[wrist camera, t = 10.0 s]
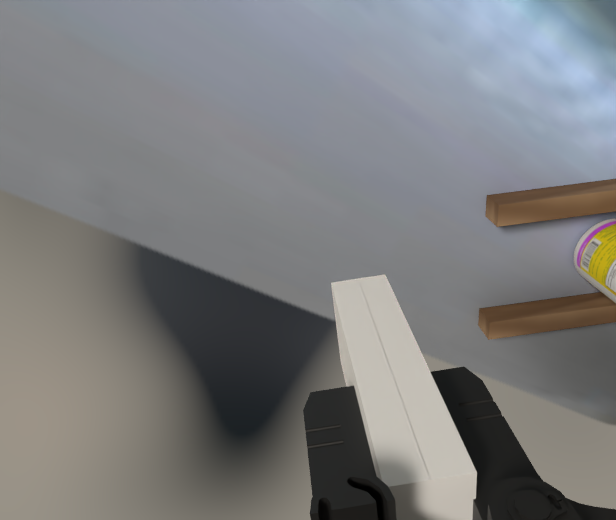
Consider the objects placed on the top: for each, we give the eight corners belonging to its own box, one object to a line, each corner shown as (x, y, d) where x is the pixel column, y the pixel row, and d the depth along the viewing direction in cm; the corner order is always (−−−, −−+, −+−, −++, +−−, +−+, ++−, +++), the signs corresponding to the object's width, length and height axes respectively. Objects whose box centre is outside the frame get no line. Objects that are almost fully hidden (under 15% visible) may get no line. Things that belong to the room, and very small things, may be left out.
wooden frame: (486, 194, 45) (504, 208, 42) (719, 164, 46) (753, 176, 42) (478, 325, 51) (492, 346, 48) (682, 298, 52) (709, 316, 49)
